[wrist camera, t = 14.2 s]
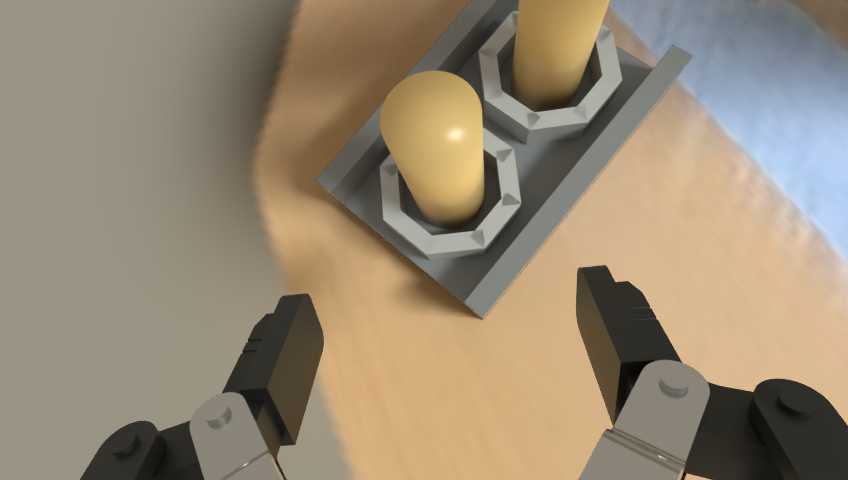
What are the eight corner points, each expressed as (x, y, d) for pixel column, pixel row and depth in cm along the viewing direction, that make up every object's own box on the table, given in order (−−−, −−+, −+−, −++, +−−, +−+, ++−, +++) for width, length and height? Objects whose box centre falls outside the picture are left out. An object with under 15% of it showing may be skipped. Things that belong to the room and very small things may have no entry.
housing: (510, -1, 31) (523, -187, 20) (664, 94, 29) (778, -61, 18) (337, 200, 30) (250, 119, 19) (483, 319, 27) (481, 307, 16)
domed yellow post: (446, 152, 28) (424, 53, 19) (498, 191, 27) (503, 106, 18) (404, 202, 28) (359, 126, 18) (455, 242, 27) (436, 186, 17)
